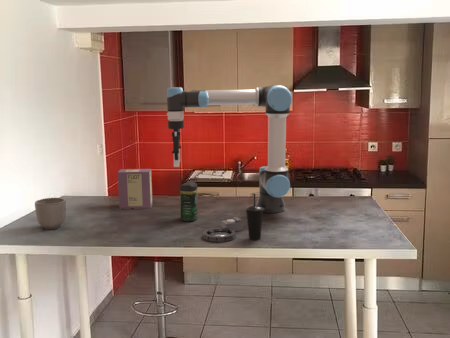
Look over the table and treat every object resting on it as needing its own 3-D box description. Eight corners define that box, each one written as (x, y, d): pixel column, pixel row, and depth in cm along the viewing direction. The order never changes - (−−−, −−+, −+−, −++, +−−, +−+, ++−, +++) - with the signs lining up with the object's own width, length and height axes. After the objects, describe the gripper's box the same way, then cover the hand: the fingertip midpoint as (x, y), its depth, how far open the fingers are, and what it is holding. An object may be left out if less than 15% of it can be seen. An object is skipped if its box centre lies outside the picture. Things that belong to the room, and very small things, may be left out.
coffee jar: (194, 222, 254) (193, 184, 250) (178, 221, 255) (177, 184, 252) (199, 217, 263) (199, 180, 260) (184, 216, 265) (183, 180, 261)
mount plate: (233, 231, 238) (233, 227, 237) (237, 241, 224) (237, 236, 223) (202, 233, 236) (202, 228, 236) (204, 242, 223) (204, 237, 222)
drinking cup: (244, 236, 231) (244, 191, 227) (262, 235, 232) (262, 191, 228) (247, 241, 224) (246, 195, 220) (264, 240, 224) (264, 195, 221)
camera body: (237, 227, 246) (237, 216, 245) (242, 230, 240) (242, 220, 239) (221, 229, 243) (221, 218, 242) (226, 232, 237) (226, 222, 236)
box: (152, 204, 291) (151, 168, 287) (150, 208, 282) (149, 171, 278) (122, 204, 290) (120, 169, 287) (119, 209, 281) (117, 172, 278)
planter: (39, 233, 239) (36, 205, 237) (34, 226, 251) (32, 199, 249) (70, 229, 245) (68, 202, 243) (64, 222, 257) (62, 196, 255)
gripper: (169, 118, 261) (170, 160, 265) (166, 122, 236) (168, 169, 240) (184, 117, 261) (185, 160, 265) (183, 122, 237) (184, 168, 241)
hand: (177, 164), depth 253 cm, fingers open, 13 cm apart
